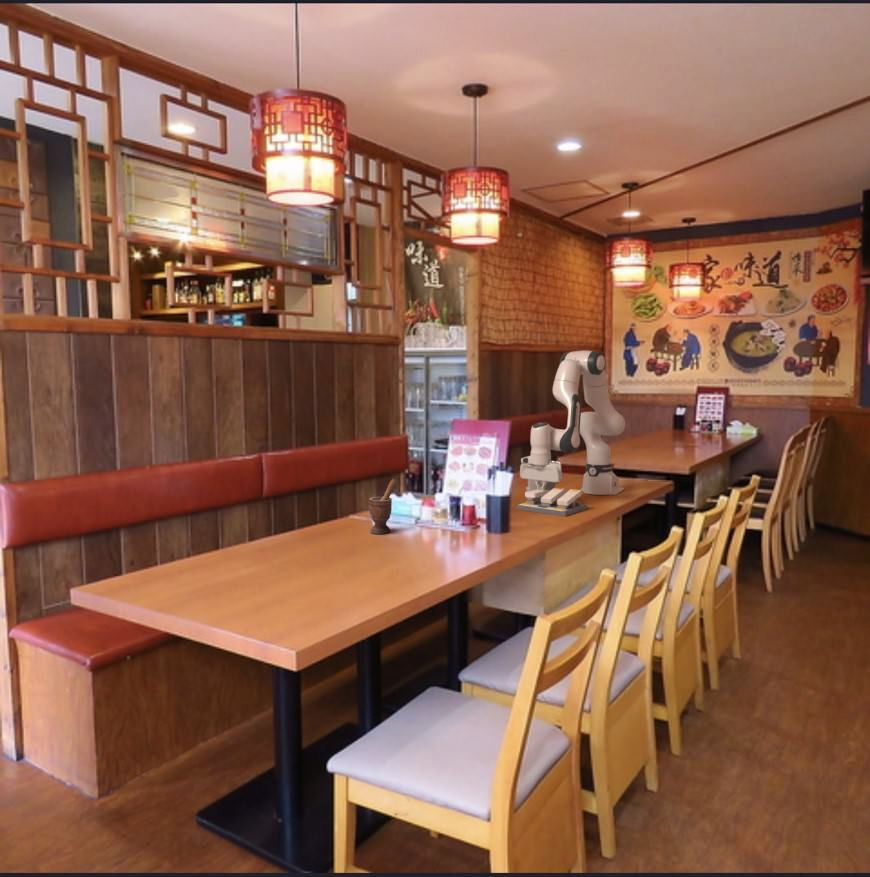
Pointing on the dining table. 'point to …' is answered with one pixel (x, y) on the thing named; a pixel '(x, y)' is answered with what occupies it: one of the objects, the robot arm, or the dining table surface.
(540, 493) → the block
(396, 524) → the dining table surface
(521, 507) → the switch unit
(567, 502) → the block
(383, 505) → the mortar and pestle
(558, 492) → the rocker
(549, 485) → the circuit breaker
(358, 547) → the dining table surface
